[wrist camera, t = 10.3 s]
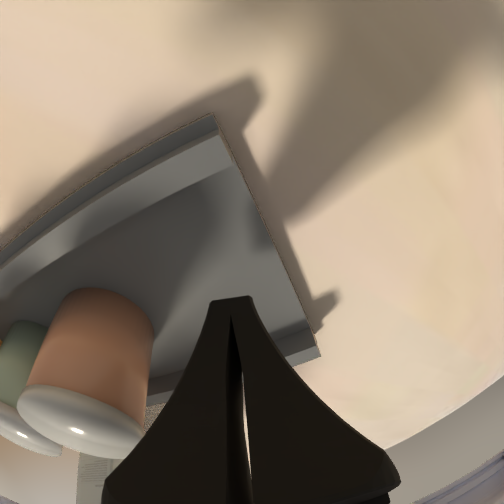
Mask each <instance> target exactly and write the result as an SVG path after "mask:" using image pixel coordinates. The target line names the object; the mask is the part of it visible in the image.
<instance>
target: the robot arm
mask: <svg viewBox="0 0 504 504" xmlns="http://www.w3.org/2000/svg"><path fill="white" fill-rule="evenodd" d="M242 372H243V377H242ZM243 381H244V392H245V404H246V415H247V427H248V440H249V452H250V466H251V474H250V468H249V461H248V454H247V447H246V440H245V432H244V420H243ZM400 483H401V480H400V476H399V473H398V471H397V469H396V467H395V466H394V464H393V462H392V461H391V459H390V458H389V456H388V455H387V454H386V452H385V451H384V450H383V449H382V448H380V447H379V446H377V445H376V444H374V443H373V442H371V441H370V440H368V439H367V438H366V437H364V436H363V435H362V434H360V433H359V432H358V431H356V430H355V429H354V428H353V427H351V426H350V425H349V424H348V423H346V422H345V421H344V420H343V419H342V418H340V417H339V416H338V415H337V414H336V413H335V412H334V411H333V410H332V409H331V408H330V407H328V406H327V405H326V404H325V403H324V402H323V401H322V400H321V399H320V398H319V397H318V396H317V395H316V394H315V393H314V392H313V391H312V390H311V389H310V388H309V387H308V385H307V384H306V383H305V382H304V381H303V380H302V379H301V377H300V376H299V375H298V374H297V373H296V372H295V370H294V369H293V368H292V366H291V365H290V364H289V363H288V361H287V360H286V359H285V357H284V356H283V354H282V353H281V352H280V350H279V349H278V347H277V346H276V344H275V343H274V341H273V340H272V338H271V336H270V335H269V333H268V331H267V330H266V328H265V326H264V324H263V323H262V321H261V319H260V317H259V315H258V312H257V310H256V308H255V305H254V302H253V298H252V297H251V296H249V295H246V296H240V297H233V298H226V299H219V300H212V301H211V302H210V303H209V307H208V311H207V315H206V318H205V321H204V324H203V327H202V330H201V333H200V336H199V338H198V341H197V343H196V346H195V348H194V351H193V353H192V355H191V358H190V360H189V362H188V364H187V366H186V368H185V370H184V373H183V375H182V377H181V379H180V380H179V382H178V384H177V386H176V388H175V390H174V391H173V393H172V395H171V397H170V398H169V400H168V402H167V403H166V405H165V406H164V408H163V409H162V411H161V413H160V414H159V416H158V417H157V419H156V420H155V421H154V423H153V424H152V426H151V427H150V428H149V430H148V431H147V432H146V434H145V435H144V436H143V437H142V439H141V440H140V441H139V442H138V444H137V445H136V446H135V447H134V449H133V450H132V451H131V452H130V453H129V455H128V456H127V457H126V458H125V459H124V460H123V461H122V462H121V463H120V464H119V465H118V466H117V467H116V468H115V469H114V470H113V471H112V472H111V473H110V474H109V475H108V476H107V478H106V479H105V481H104V486H103V490H102V496H101V504H389V503H390V498H389V495H388V492H390V491H391V490H393V489H394V488H396V487H397V486H399V485H400ZM0 504H18V503H16V502H14V501H12V500H9V499H8V498H5V497H3V496H1V495H0ZM410 504H504V449H503V450H502V451H500V452H499V453H497V454H496V455H495V456H493V457H492V458H490V459H489V460H487V461H486V462H484V463H483V464H482V465H481V466H479V467H478V468H476V469H475V470H473V471H472V472H470V473H468V474H467V475H465V476H463V477H461V478H460V479H458V480H456V481H454V482H453V483H451V484H449V485H447V486H445V487H444V488H442V489H440V490H438V491H436V492H434V493H432V494H430V495H428V496H426V497H423V498H421V499H419V500H417V501H415V502H413V503H410Z"/></svg>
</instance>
